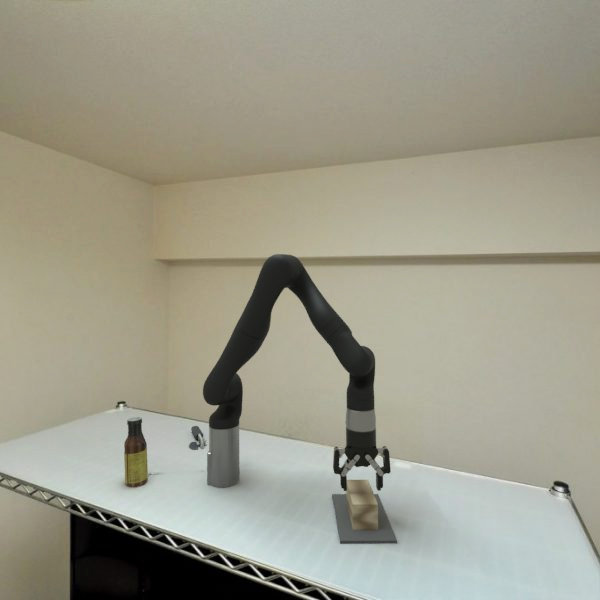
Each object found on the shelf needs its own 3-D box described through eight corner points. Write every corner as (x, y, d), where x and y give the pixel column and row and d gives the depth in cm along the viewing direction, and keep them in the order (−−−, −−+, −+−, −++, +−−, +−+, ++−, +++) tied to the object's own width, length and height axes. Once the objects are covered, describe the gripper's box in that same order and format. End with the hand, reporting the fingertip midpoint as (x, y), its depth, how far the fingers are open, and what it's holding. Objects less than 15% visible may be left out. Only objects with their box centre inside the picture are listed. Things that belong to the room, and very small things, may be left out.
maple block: (352, 529, 86) (352, 504, 86) (346, 501, 98) (346, 479, 98) (378, 529, 86) (377, 504, 86) (368, 501, 98) (368, 479, 98)
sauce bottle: (152, 482, 110) (152, 417, 111) (135, 492, 105) (135, 423, 105) (136, 478, 113) (136, 414, 113) (119, 487, 108) (119, 420, 108)
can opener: (207, 453, 132) (207, 439, 132) (189, 456, 130) (189, 442, 130) (201, 435, 150) (201, 423, 150) (185, 437, 148) (185, 425, 148)
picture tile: (340, 543, 82) (340, 540, 82) (332, 496, 102) (332, 494, 102) (397, 543, 82) (397, 540, 82) (378, 496, 102) (378, 493, 102)
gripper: (334, 430, 88) (335, 497, 88) (392, 430, 88) (393, 496, 88) (331, 421, 96) (332, 482, 96) (385, 420, 96) (386, 481, 96)
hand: (361, 489), depth 92 cm, fingers open, 8 cm apart
